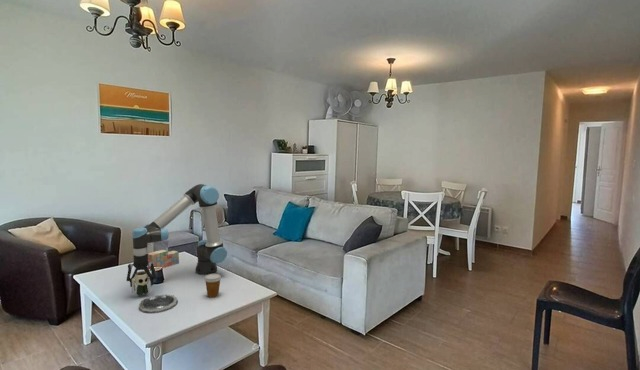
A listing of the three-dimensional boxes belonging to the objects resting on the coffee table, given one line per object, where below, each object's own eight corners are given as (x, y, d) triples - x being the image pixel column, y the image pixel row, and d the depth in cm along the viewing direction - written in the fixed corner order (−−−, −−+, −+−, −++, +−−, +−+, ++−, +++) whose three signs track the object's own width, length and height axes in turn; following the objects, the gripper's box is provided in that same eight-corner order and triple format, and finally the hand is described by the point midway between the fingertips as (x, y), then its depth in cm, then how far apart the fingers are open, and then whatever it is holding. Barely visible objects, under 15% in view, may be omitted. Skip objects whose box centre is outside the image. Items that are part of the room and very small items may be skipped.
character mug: (134, 298, 197) (133, 277, 195) (130, 295, 201) (129, 273, 200) (154, 293, 205) (153, 272, 203) (149, 289, 209) (148, 269, 208)
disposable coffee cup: (224, 293, 209) (224, 274, 208) (214, 299, 200) (214, 280, 199) (211, 291, 212) (211, 272, 211) (201, 297, 203) (201, 277, 202)
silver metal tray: (180, 295, 204) (180, 293, 204) (174, 311, 185) (174, 308, 185) (143, 298, 199) (143, 295, 199) (134, 314, 180) (134, 311, 180)
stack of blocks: (174, 262, 265) (173, 246, 264) (179, 263, 261) (178, 248, 260) (147, 269, 247) (147, 253, 246) (152, 271, 244) (152, 254, 242)
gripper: (161, 251, 206) (162, 287, 209) (122, 253, 201) (124, 290, 204) (158, 255, 199) (160, 292, 202) (118, 257, 194) (120, 295, 197)
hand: (142, 291), depth 203 cm, fingers closed on character mug, 8 cm apart
